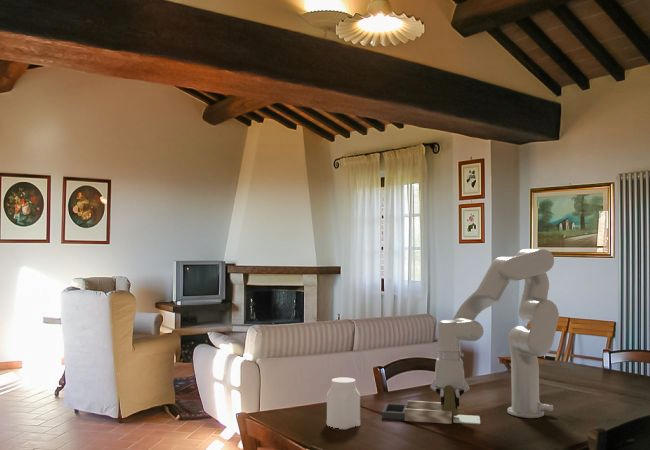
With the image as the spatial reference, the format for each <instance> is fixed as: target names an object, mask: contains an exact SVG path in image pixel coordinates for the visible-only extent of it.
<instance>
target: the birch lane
mask: <svg viewBox="0 0 650 450" xmlns="http://www.w3.org/2000/svg"><path fill="white" fill-rule="evenodd" d="M406 405H408V408H405V421H404V422H420V423H421V422H422V423H433V424H435V423H437V424H447V425H449V424H453V416H452V411H441V410H442V405H441V401H440V402H439V401H422V400H421V401H420V400H407V403H406Z"/></svg>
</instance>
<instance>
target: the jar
mask: <svg viewBox="0 0 650 450" xmlns="http://www.w3.org/2000/svg"><path fill="white" fill-rule="evenodd" d="M356 383H357V381H356V379H355V378H353V377H347V376H346V377H344V376H343V377H334V378H331V384H330V385H331V387H330V388H329V390H328V391H327V393H326V425H327V427H329V426H330V427H329V428H331V427H333V428H332V429H335V428H339V429H338V430H348V429H351V428H355V426H356V427H360V426H361V393H360V392H359V390H358V388H357V386H356Z"/></svg>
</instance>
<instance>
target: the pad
mask: <svg viewBox="0 0 650 450" xmlns="http://www.w3.org/2000/svg"><path fill="white" fill-rule="evenodd" d="M453 423H455V424H468V425H481V418H480V415H471V414H470V415H469V414H458V415H457V416H452V424H453Z"/></svg>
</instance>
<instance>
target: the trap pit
mask: <svg viewBox="0 0 650 450" xmlns="http://www.w3.org/2000/svg"><path fill="white" fill-rule="evenodd" d="M405 408H408V405H407V403H406V404H403V403H402V404H400V403H385V404H384V407H383V409H382V412H381V419H382V420H387V421H388V420H390V421H404V422H406V421H405Z"/></svg>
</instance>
